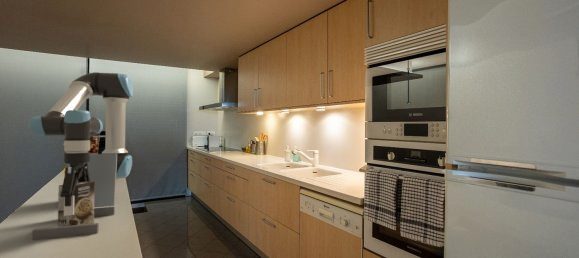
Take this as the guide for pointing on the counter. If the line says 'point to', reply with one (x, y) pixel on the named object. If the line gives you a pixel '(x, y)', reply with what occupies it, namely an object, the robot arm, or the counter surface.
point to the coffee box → (78, 205)
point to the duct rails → (72, 227)
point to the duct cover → (103, 178)
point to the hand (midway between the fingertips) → (76, 209)
